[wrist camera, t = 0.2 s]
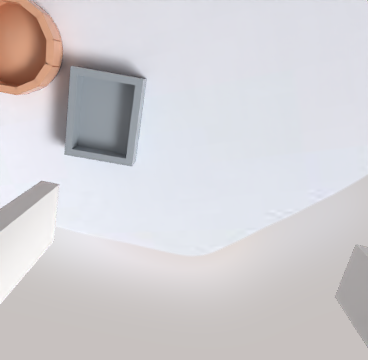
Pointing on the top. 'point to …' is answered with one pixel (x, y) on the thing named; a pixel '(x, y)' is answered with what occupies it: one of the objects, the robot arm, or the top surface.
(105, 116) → the trough
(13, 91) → the terracotta round dish
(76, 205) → the top surface
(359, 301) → the robot arm
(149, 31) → the top surface
